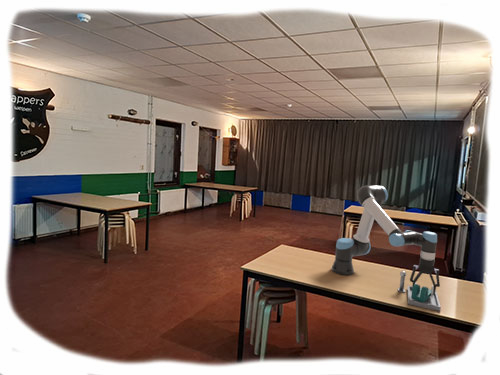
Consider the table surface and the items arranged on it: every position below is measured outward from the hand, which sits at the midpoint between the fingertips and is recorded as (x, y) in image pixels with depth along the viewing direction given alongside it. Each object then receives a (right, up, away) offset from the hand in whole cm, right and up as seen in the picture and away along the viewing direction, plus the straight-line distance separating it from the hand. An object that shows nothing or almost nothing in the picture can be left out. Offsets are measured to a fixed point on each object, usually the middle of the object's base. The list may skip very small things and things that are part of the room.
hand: (422, 295), depth 195 cm
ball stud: (-8, -1, +11) cm, 14 cm away
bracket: (0, -1, 0) cm, 1 cm away
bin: (0, -3, 0) cm, 3 cm away
